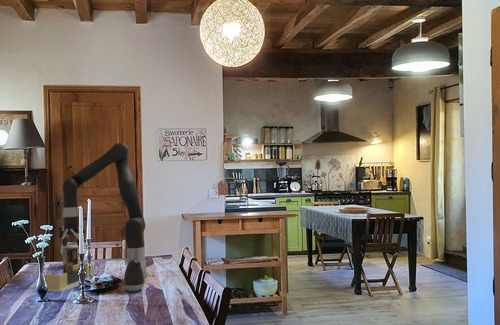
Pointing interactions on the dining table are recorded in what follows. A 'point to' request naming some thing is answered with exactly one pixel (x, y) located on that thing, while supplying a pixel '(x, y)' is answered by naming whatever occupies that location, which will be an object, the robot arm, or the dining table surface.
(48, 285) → the bracket board
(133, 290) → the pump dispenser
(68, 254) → the coffee box
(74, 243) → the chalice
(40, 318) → the dining table surface
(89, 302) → the dining table surface
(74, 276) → the rail
